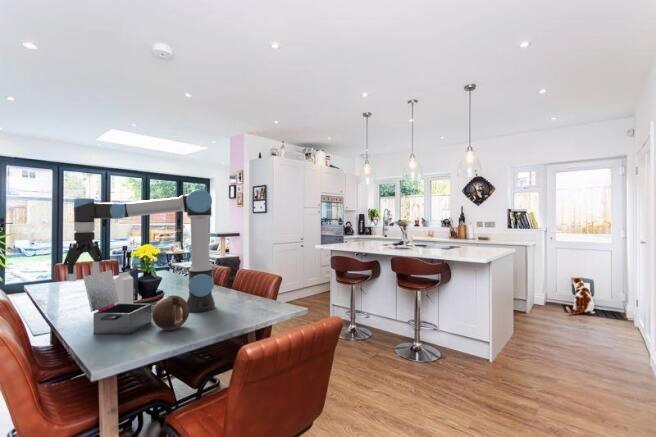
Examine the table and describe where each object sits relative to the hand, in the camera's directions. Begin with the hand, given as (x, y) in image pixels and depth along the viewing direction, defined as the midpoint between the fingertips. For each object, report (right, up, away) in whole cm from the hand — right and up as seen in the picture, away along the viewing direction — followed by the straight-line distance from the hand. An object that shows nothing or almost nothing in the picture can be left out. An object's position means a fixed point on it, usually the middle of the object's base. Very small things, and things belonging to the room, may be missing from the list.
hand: (84, 278), depth 149 cm
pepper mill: (-5, -23, +20) cm, 31 cm away
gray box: (+18, -23, -1) cm, 29 cm away
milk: (+6, -23, +19) cm, 30 cm away
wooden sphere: (+40, -23, -2) cm, 46 cm away
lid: (+9, -5, 0) cm, 10 cm away
